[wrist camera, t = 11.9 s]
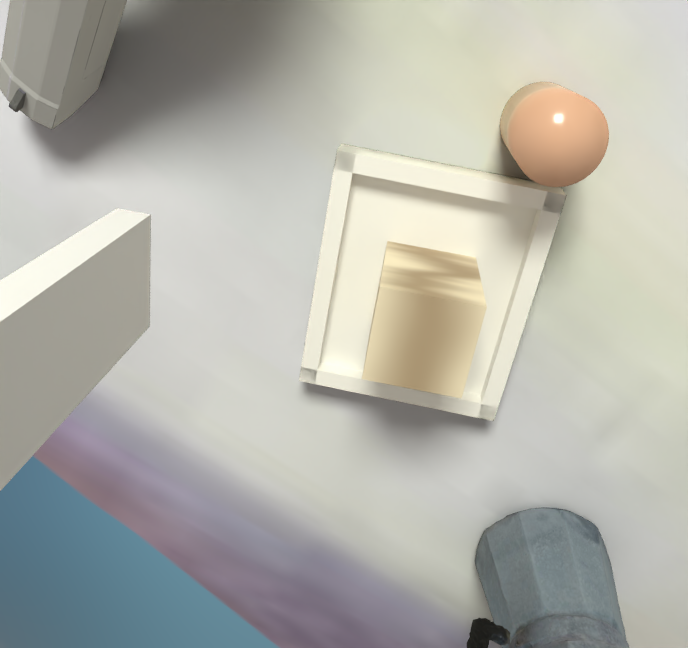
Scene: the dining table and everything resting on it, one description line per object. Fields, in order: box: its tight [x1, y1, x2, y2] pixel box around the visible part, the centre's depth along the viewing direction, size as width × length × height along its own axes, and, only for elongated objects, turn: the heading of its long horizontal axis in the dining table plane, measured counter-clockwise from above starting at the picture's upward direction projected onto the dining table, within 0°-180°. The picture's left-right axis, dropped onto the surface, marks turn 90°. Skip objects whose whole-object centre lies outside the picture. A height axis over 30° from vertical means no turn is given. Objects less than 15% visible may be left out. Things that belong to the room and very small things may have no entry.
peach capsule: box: [500, 82, 609, 187], centre depth 32 cm, size 4×4×6 cm
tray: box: [299, 144, 567, 421], centre depth 38 cm, size 12×14×2 cm
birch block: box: [362, 241, 487, 398], centre depth 35 cm, size 5×5×7 cm
